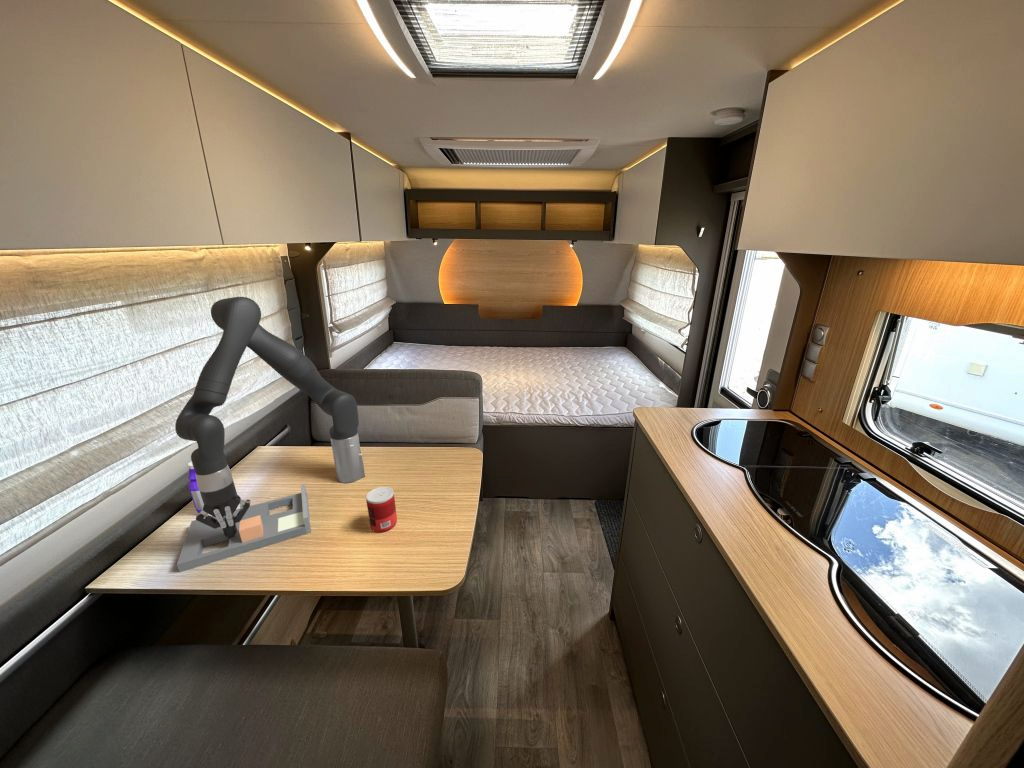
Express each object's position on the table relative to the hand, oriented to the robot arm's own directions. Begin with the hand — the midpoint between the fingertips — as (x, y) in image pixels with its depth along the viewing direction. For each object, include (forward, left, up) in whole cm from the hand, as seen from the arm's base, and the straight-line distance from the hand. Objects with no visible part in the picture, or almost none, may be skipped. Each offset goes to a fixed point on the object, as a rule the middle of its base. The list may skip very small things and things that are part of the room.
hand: (231, 535), depth 112 cm
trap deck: (-3, -5, -3) cm, 7 cm away
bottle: (+9, -24, -3) cm, 26 cm away
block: (-5, +1, -1) cm, 5 cm away
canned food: (-39, +12, -3) cm, 41 cm away
